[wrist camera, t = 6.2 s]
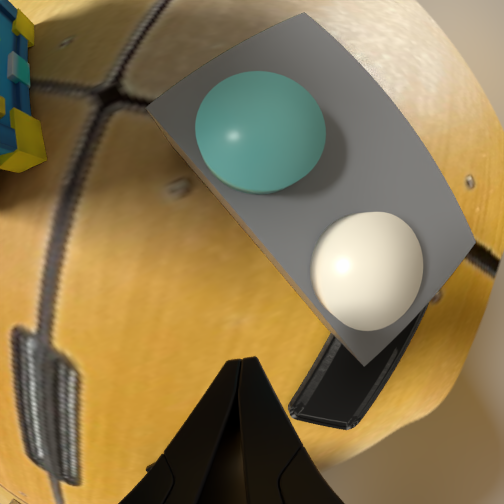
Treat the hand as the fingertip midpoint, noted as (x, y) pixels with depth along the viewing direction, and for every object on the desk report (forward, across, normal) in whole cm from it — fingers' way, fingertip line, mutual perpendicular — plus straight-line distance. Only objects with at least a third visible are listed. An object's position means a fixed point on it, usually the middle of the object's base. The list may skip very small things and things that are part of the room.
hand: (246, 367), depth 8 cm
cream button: (+9, -5, +2) cm, 11 cm away
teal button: (+11, -1, -4) cm, 12 cm away
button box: (+15, -4, -1) cm, 16 cm away
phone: (+12, -7, +14) cm, 19 cm away
